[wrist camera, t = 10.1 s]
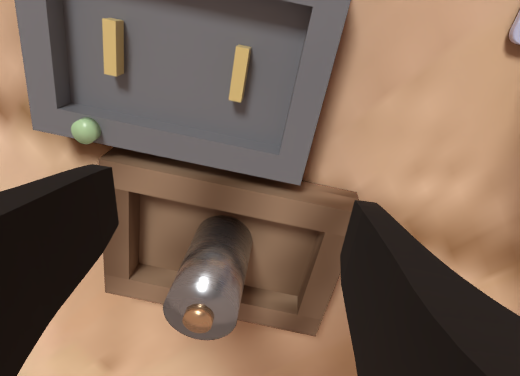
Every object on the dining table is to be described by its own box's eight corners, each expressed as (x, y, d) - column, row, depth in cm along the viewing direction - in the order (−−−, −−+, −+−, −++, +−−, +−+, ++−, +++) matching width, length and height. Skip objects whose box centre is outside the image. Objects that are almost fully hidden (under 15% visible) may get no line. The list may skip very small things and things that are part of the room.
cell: (244, 211, 21) (223, 291, 15) (257, 258, 22) (243, 346, 17) (188, 219, 21) (148, 297, 16) (205, 264, 23) (174, 350, 17)
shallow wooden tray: (356, 192, 20) (363, 214, 18) (314, 308, 25) (315, 336, 23) (119, 142, 20) (98, 158, 18) (121, 268, 25) (105, 292, 23)
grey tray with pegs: (349, -23, 15) (360, -28, 13) (300, 166, 20) (300, 191, 17) (40, -87, 15) (-13, -106, 13) (61, 116, 20) (24, 133, 17)
